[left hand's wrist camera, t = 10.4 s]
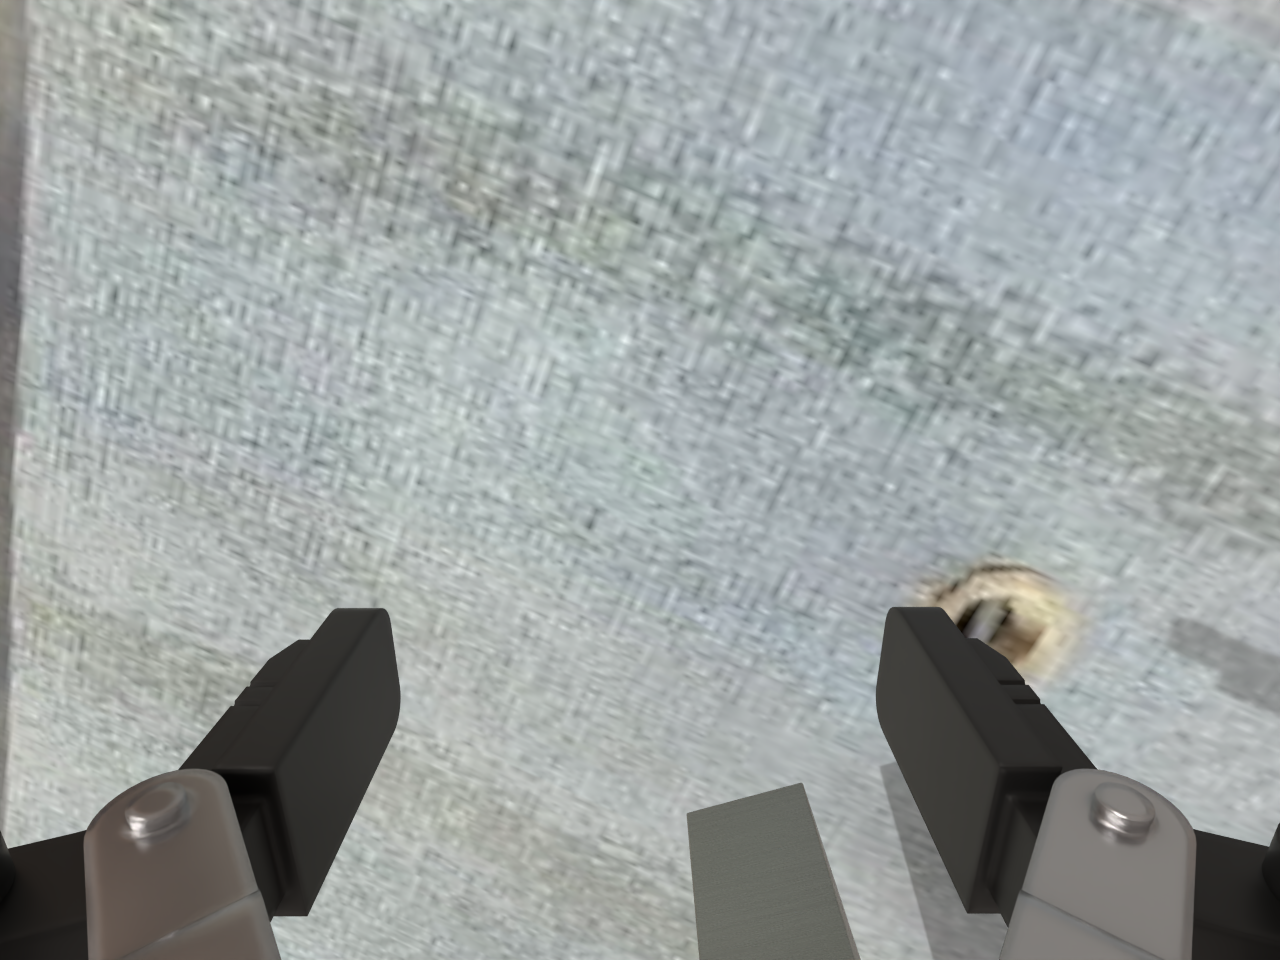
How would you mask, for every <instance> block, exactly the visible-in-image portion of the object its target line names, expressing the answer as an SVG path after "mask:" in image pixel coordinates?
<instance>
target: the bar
mask: <svg viewBox="0 0 1280 960" xmlns="http://www.w3.org/2000/svg"><path fill="white" fill-rule="evenodd" d="M687 824H688V835H689V847H690V858H691V869H692V881H693V892H694V903H695V915H696V926H697V937H698V948H699V960H861V959H860V956H859V953H858V950H857V947H856V944H855V941H854V938H853V935H852V932H851V929H850V926H849V923H848V920H847V917H846V914H845V911H844V907H843V904H842V901H841V898H840V895H839V892H838V889H837V886H836V883H835V880H834V877H833V874H832V871H831V868H830V865H829V862H828V859H827V856H826V853H825V850H824V847H823V844H822V841H821V838H820V834H819V831H818V828H817V825H816V822H815V819H814V816H813V813H812V810H811V807H810V804H809V801H808V798H807V795H806V792H805V789H804V786H803V784H802V783H798V784H794V785H791V786H787V787H783V788H779V789H776V790H772V791H768V792H764V793H761V794H757V795H753V796H749V797H746V798H742V799H738V800H735V801H731V802H727V803H723V804H720V805H716V806H712V807H708V808H705V809H701V810H697V811H693V812H690V813H687Z"/></svg>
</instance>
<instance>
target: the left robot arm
mask: <svg viewBox="0 0 1280 960" xmlns="http://www.w3.org/2000/svg"><path fill="white" fill-rule="evenodd" d="M250 683H251V684H250V687H246V688H245V689H244V690H243V692H242V693H241V694H240V695H239V697H238V698H237V699H236V700H235V705H234V706H230V708H229V709H228V710H227V711H226V712H225V714H224V715H223V716H222V717H221V718H220V720H219V721H218V722H217V723H216V725H215V726H214V727H213V728H212V729H211V731H210V732H209V733H208V734H207V735H206V737H205V738H204V739H203V740H202V742H201V743H200V744H199V745H198V746H197V748H196V749H195V750H194V751H193V752H192V754H191V755H190V756H189V757H188V759H187V760H186V761H185V762H184V763H183V765H182V766H181V767H180V768H179V770H176V771H172V772H168V773H164V774H161V775H158V776H155V777H152V778H150V779H147V780H145V781H143V782H140V783H139V784H137V785H135V786H133V787H131V788H129V789H128V790H126V791H124V792H123V793H121V794H120V795H118V796H117V797H116V798H114V799H113V800H112V801H110V802H109V803H108V804H107V805H106V806H105V807H104V808H103V809H101V810H100V811H99V813H98V814H97V815H96V816H95V817H94V819H93V820H92V821H91V823H90V825H89V826H88V828H87V830H85V831H81V832H77V833H73V834H69V835H65V836H61V837H56V838H52V839H48V840H43V841H39V842H35V843H31V844H26V845H22V846H18V847H13V848H9V849H8V848H7V846H6V843H5V841H4V839H3V836H2V834H1V831H0V960H281V957H280V954H279V951H278V947H277V944H276V941H275V937H274V934H273V931H272V927H271V924H270V922H271V920H272V918H273V916H308V914H309V912H310V910H311V907H312V905H313V903H314V901H315V899H316V897H317V895H318V893H319V890H320V888H321V886H322V884H323V882H324V880H325V878H326V876H327V873H328V871H329V869H330V867H331V865H332V863H333V861H334V859H335V856H336V854H337V852H338V850H339V848H340V846H341V844H342V842H343V839H344V837H345V835H346V833H347V831H348V829H349V827H350V824H351V822H352V820H353V818H354V816H355V814H356V812H357V810H358V807H359V805H360V803H361V801H362V799H363V797H364V795H365V793H366V790H367V788H368V786H369V784H370V782H371V780H372V778H373V776H374V773H375V771H376V769H377V767H378V765H379V763H380V761H381V759H382V756H383V754H384V752H385V750H386V748H387V746H388V744H389V742H390V739H391V737H392V735H393V733H394V731H395V728H396V725H397V721H398V717H399V711H400V685H399V677H398V670H397V663H396V656H395V649H394V642H393V635H392V628H391V622H390V617H389V614H388V612H387V611H386V610H385V609H383V608H337V609H334V610H333V611H332V612H331V613H330V614H329V616H328V617H327V618H326V620H325V621H324V622H323V623H322V625H321V626H320V627H319V629H318V630H317V631H316V633H315V634H314V635H313V637H312V638H311V639H310V640H297V641H296V642H294V643H293V644H291V645H290V646H288V647H287V648H285V649H284V650H282V651H281V652H279V653H278V654H276V655H275V656H273V657H272V658H270V659H269V660H268V661H267V663H266V664H265V665H264V666H263V667H262V669H261V670H260V671H259V672H258V673H257V675H256V676H255V677H254V678H253V680H252V681H251V682H250ZM876 706H877V713H878V718H879V722H880V726H881V728H882V731H883V733H884V735H885V737H886V739H887V742H888V744H889V746H890V748H891V750H892V752H893V755H894V757H895V759H896V761H897V763H898V765H899V767H900V770H901V772H902V774H903V776H904V778H905V780H906V783H907V785H908V787H909V789H910V791H911V793H912V795H913V798H914V800H915V802H916V804H917V806H918V808H919V811H920V813H921V815H922V817H923V819H924V821H925V823H926V826H927V828H928V830H929V832H930V834H931V836H932V839H933V841H934V843H935V845H936V847H937V849H938V851H939V854H940V856H941V858H942V860H943V862H944V864H945V867H946V869H947V871H948V873H949V875H950V877H951V879H952V882H953V884H954V886H955V888H956V890H957V892H958V895H959V897H960V899H961V901H962V903H963V905H964V907H965V910H966V912H967V913H1001V915H1002V917H1003V919H1004V921H1005V923H1006V925H1007V927H1008V931H1007V934H1006V937H1005V941H1004V944H1003V947H1002V951H1001V954H1000V957H999V960H1280V823H1279V824H1278V827H1277V829H1276V832H1275V834H1274V837H1273V839H1272V842H1271V844H1270V846H1269V847H1267V846H1263V845H1259V844H1254V843H1250V842H1246V841H1242V840H1237V839H1233V838H1229V837H1224V836H1220V835H1216V834H1212V833H1207V832H1203V831H1199V830H1195V829H1193V828H1192V826H1191V825H1190V823H1189V821H1188V820H1187V819H1186V817H1185V816H1184V815H1183V814H1182V813H1181V811H1180V810H1179V809H1177V808H1176V807H1175V806H1174V805H1173V804H1172V803H1171V802H1170V801H1168V800H1167V799H1166V798H1164V797H1163V796H1162V795H1160V794H1159V793H1157V792H1156V791H1154V790H1152V789H1151V788H1149V787H1147V786H1145V785H1143V784H1141V783H1140V782H1137V781H1135V780H1133V779H1130V778H1128V777H1125V776H1122V775H1119V774H1116V773H1112V772H1108V771H1104V770H1097V768H1096V767H1095V766H1094V765H1093V764H1092V762H1091V761H1090V760H1089V759H1088V757H1087V756H1086V755H1085V754H1084V753H1083V751H1082V750H1081V749H1080V748H1079V746H1078V745H1077V744H1076V743H1075V741H1074V740H1073V739H1072V738H1071V737H1070V735H1069V734H1068V733H1067V732H1066V730H1065V729H1064V728H1063V727H1062V726H1061V724H1060V723H1059V722H1058V721H1057V719H1056V718H1055V717H1054V716H1053V714H1052V713H1051V712H1050V711H1049V710H1048V708H1047V707H1046V706H1045V705H1044V704H1041V703H1040V699H1039V697H1038V696H1037V695H1036V694H1035V692H1034V691H1033V690H1032V689H1031V688H1030V686H1029V685H1025V680H1024V679H1023V678H1022V676H1021V675H1020V674H1019V673H1018V672H1017V670H1016V669H1015V668H1014V667H1013V665H1012V664H1011V663H1010V662H1009V661H1008V659H1007V658H1006V657H1004V656H1003V655H1001V654H1000V653H998V652H997V651H995V650H994V649H992V648H991V647H989V646H988V645H986V644H985V643H983V642H982V641H980V640H979V639H977V638H965V637H964V636H963V634H962V633H961V632H960V630H959V629H958V628H957V627H956V625H955V624H954V623H953V621H952V620H951V619H950V617H949V616H948V615H947V613H946V612H945V611H944V610H943V609H942V608H940V607H892V608H891V609H890V610H889V611H888V614H887V617H886V622H885V629H884V636H883V643H882V650H881V657H880V665H879V672H878V679H877V686H876Z"/></svg>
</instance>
